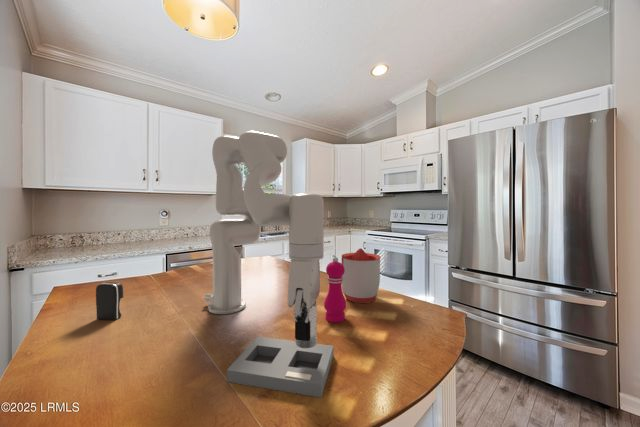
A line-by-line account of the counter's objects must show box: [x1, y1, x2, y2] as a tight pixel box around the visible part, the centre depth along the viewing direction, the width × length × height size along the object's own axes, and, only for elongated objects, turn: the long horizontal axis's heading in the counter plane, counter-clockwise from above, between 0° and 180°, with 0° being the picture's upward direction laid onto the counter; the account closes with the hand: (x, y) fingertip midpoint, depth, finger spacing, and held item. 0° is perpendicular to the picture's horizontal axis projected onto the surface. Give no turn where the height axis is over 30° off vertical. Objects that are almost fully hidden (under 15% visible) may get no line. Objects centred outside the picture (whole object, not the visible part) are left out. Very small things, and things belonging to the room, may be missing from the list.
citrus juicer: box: [340, 248, 382, 304], centre depth 101 cm, size 16×17×20 cm
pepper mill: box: [323, 256, 347, 323], centre depth 83 cm, size 7×7×20 cm
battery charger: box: [95, 281, 124, 321], centre depth 83 cm, size 7×4×11 cm, turn 84°
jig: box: [226, 336, 335, 399], centre depth 57 cm, size 20×14×3 cm
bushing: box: [295, 303, 318, 348], centre depth 56 cm, size 5×5×8 cm
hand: (306, 332), depth 56 cm, fingers closed on bushing, 4 cm apart
